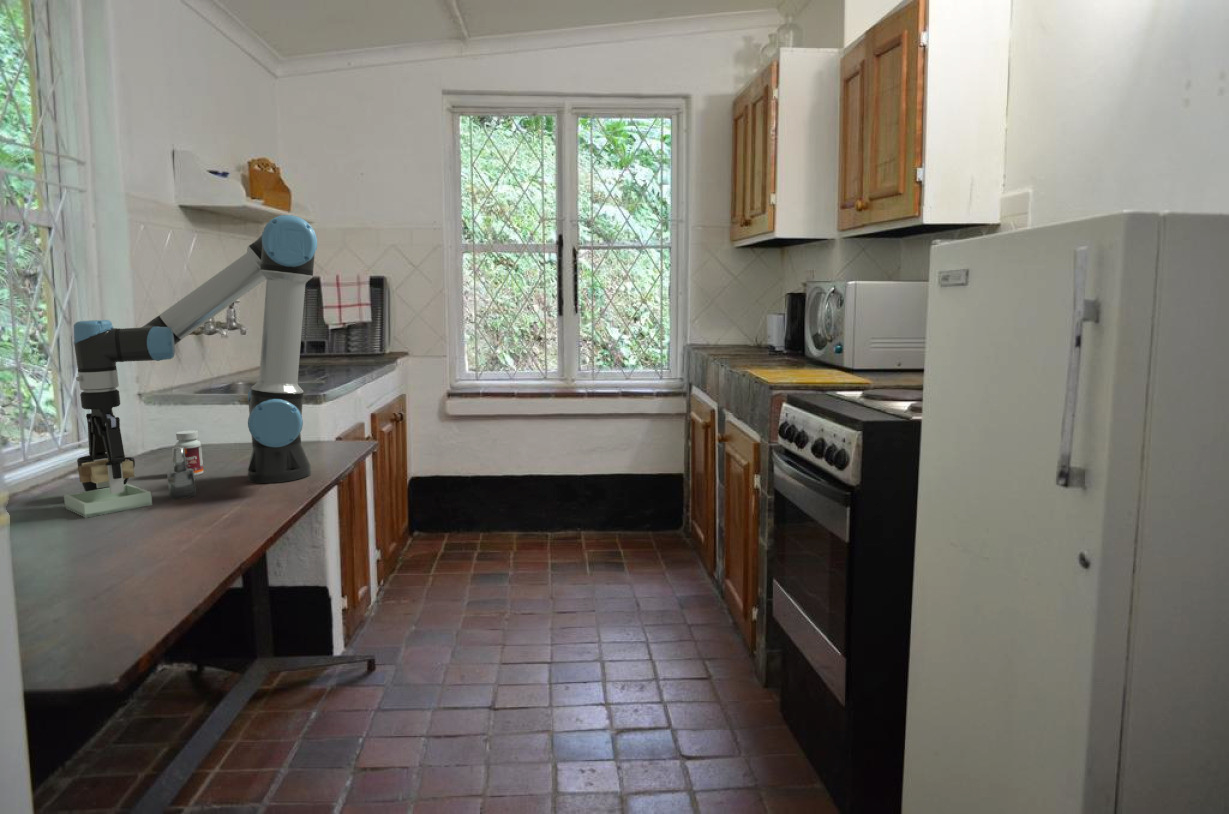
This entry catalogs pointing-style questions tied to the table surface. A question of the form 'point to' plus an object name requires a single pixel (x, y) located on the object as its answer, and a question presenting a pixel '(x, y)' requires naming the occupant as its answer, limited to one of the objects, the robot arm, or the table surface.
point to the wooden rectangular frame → (102, 471)
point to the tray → (107, 501)
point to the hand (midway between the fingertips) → (110, 489)
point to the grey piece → (180, 476)
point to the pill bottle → (191, 450)
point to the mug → (90, 485)
